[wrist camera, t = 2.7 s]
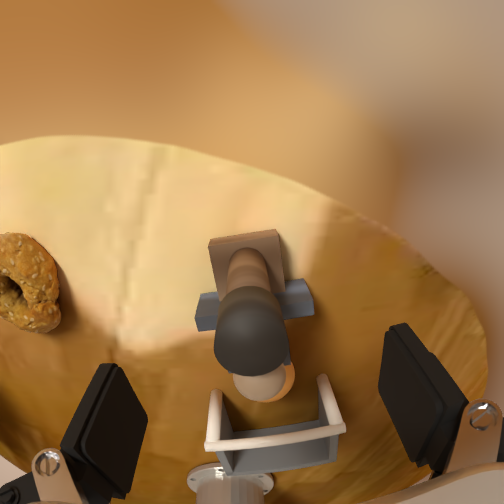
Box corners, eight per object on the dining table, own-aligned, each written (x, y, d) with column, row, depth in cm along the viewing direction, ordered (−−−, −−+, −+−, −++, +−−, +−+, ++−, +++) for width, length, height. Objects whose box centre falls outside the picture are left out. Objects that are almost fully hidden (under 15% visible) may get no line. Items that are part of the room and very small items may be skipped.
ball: (292, 372, 28) (300, 408, 23) (242, 379, 28) (242, 416, 24) (288, 331, 27) (296, 367, 22) (232, 340, 27) (231, 376, 22)
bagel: (29, 335, 26) (8, 358, 22) (-15, 248, 23) (-42, 263, 19) (87, 313, 26) (65, 339, 21) (36, 209, 23) (5, 221, 18)
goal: (327, 421, 31) (341, 471, 24) (226, 436, 31) (224, 487, 24) (327, 372, 28) (346, 427, 21) (209, 389, 29) (203, 447, 22)
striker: (305, 300, 25) (344, 401, 14) (205, 314, 25) (186, 422, 14) (297, 225, 23) (347, 296, 12) (188, 242, 23) (145, 325, 12)
